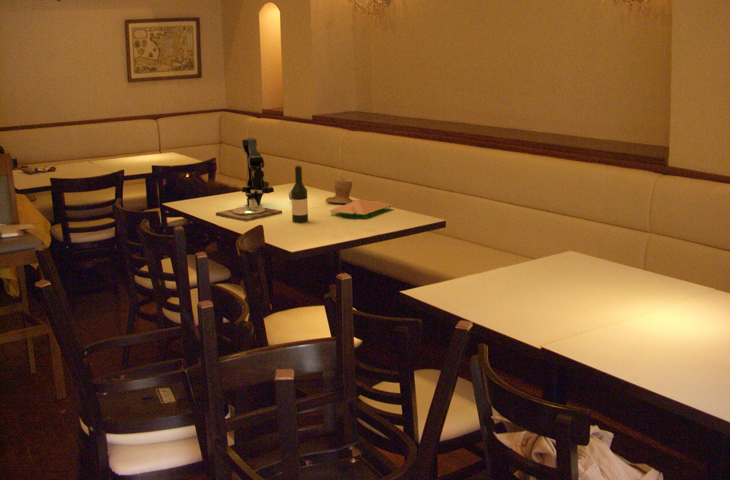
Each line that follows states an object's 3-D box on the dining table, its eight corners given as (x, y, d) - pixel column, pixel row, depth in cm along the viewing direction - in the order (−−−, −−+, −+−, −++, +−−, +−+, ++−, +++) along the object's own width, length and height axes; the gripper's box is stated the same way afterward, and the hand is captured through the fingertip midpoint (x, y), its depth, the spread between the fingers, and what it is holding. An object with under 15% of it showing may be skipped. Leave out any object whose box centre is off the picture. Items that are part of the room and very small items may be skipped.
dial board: (251, 207, 432) (251, 204, 432) (281, 213, 416) (281, 210, 415) (215, 215, 413) (215, 212, 413) (246, 221, 396) (246, 218, 396)
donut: (302, 201, 449) (302, 185, 447) (305, 202, 446) (304, 185, 444) (287, 203, 444) (287, 186, 442) (290, 204, 442) (289, 187, 439)
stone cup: (355, 202, 445) (355, 177, 441) (348, 205, 434) (347, 180, 431) (332, 200, 450) (332, 176, 447) (324, 204, 440) (324, 179, 436)
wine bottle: (292, 219, 399) (290, 164, 391) (308, 219, 399) (306, 164, 392) (292, 223, 391) (290, 167, 383) (308, 222, 391) (306, 166, 384)
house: (326, 217, 406) (326, 202, 404) (358, 206, 434) (358, 192, 432) (361, 221, 395) (361, 206, 393) (392, 210, 422) (392, 196, 420)
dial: (241, 206, 426) (241, 196, 425) (271, 208, 422) (270, 197, 421) (225, 214, 406) (225, 204, 404) (256, 216, 401) (255, 205, 400)
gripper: (278, 175, 418) (280, 202, 422) (251, 174, 427) (254, 201, 431) (266, 178, 409) (269, 206, 413) (240, 177, 418) (242, 204, 421)
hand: (258, 204), depth 420 cm, fingers closed
